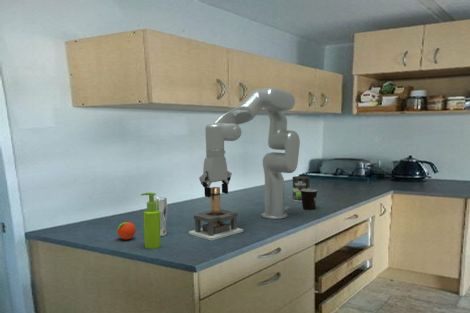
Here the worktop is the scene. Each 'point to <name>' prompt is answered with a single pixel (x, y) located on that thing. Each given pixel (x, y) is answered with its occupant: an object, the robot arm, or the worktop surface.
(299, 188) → the coffee can
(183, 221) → the worktop surface
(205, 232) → the collar stand
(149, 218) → the soap dispenser
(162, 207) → the beer glass
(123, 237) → the clementine
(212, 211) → the thermos bottle
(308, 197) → the coffee mug
